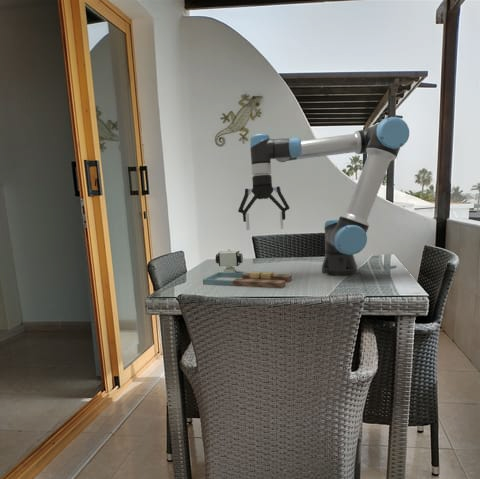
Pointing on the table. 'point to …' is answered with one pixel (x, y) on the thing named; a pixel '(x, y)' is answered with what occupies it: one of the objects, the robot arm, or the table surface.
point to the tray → (211, 280)
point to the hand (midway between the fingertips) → (264, 229)
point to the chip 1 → (255, 275)
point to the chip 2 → (267, 276)
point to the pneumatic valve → (229, 260)
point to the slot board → (263, 281)
